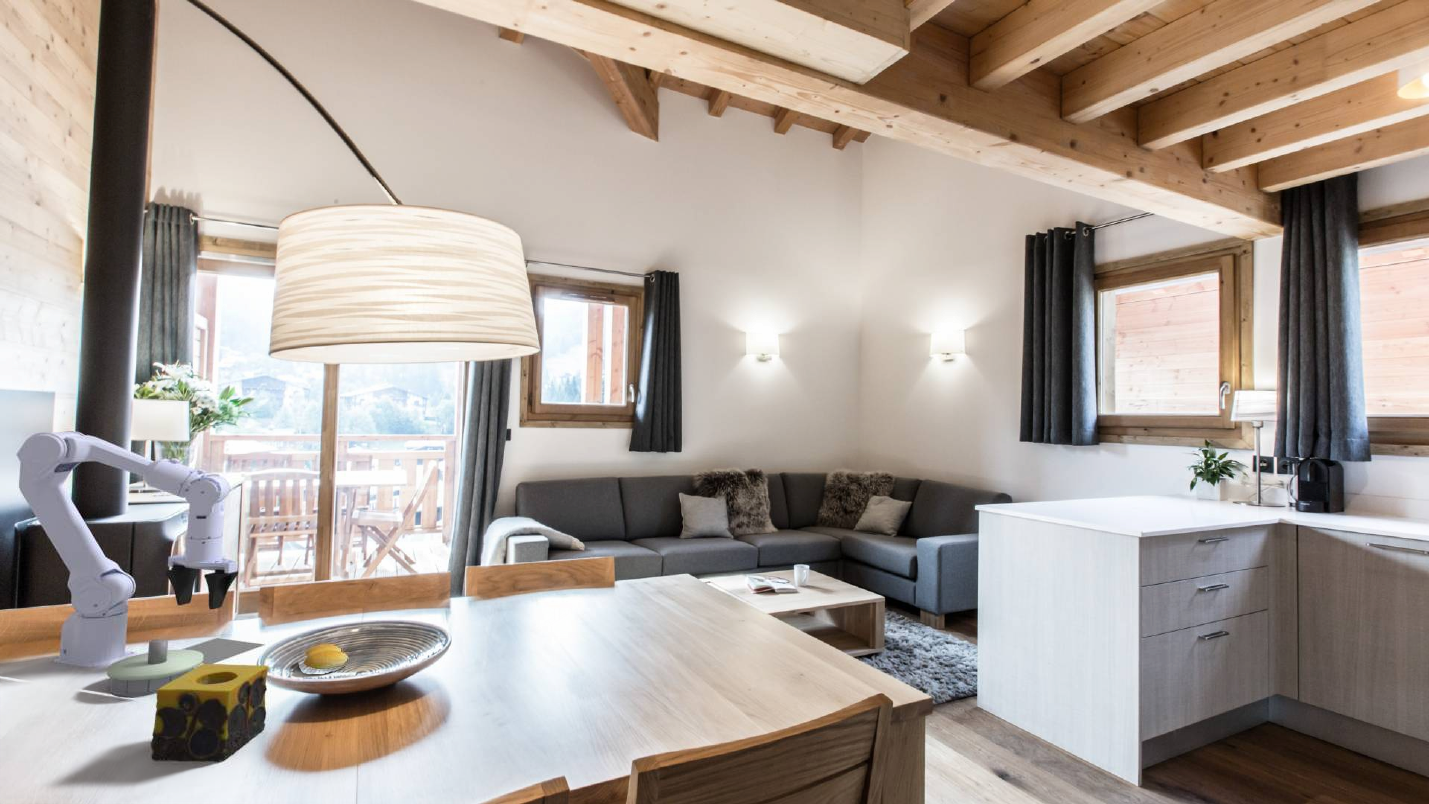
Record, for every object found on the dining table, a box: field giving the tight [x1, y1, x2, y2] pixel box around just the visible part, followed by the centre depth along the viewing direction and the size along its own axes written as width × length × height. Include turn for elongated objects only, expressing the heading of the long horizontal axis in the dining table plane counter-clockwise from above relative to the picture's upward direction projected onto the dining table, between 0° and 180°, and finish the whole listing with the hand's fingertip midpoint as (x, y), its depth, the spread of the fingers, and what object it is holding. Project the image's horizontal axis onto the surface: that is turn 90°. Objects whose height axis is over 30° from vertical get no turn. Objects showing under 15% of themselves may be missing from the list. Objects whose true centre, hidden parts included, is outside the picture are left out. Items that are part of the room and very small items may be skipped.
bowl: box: [109, 668, 195, 699], centre depth 118 cm, size 11×11×3 cm
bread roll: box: [304, 643, 349, 669], centre depth 130 cm, size 8×9×4 cm
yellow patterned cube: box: [150, 663, 269, 762], centre depth 99 cm, size 10×10×10 cm
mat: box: [180, 637, 266, 664], centre depth 135 cm, size 12×12×1 cm
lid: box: [106, 638, 203, 681], centre depth 119 cm, size 13×13×4 cm
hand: (199, 606), depth 134 cm, fingers open, 7 cm apart
